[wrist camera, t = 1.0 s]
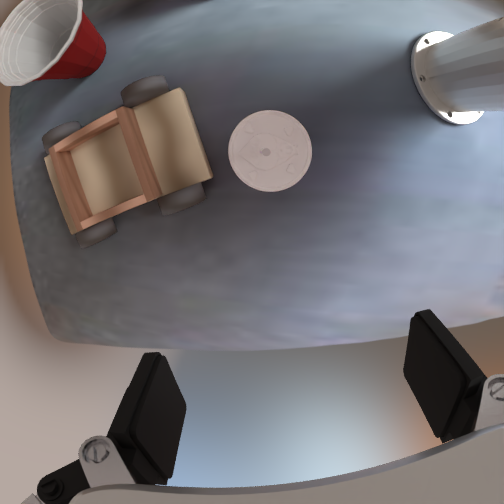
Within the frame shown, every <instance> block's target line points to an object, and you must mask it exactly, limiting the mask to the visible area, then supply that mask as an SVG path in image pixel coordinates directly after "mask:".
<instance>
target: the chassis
mask: <svg viewBox="0 0 504 504" xmlns="http://www.w3.org/2000/svg"><path fill="white" fill-rule="evenodd" d="M121 96H122V99H123V103H124V106H125V107H123V106H122V107H120V108H118V109H116V110H114V111H112V112H110V113H108V114H106V115H104V116H103V117H101V118H99V119H97V120H95V121H93V122H92V123H90V124H88V125H86V126H85V127H83V128H81V127H80V124H79V122H78V121H73V122H68V123H65V124H62V125H59V126H57V127H55V128H53V129H51V130H50V131H48V132H47V133H46V134H45V135H44V136H43V137H42V141H43V144H44V148H45V151H46V154H49V155H48V156H46V157H45V158H44V160H45V163H46V166H47V170H48V173H49V176H50V179H51V182H52V185H53V188H54V191H55V194H56V196H57V199H58V202H59V205H60V207H61V210H62V213H63V215H64V218H65V220H66V223H67V225H68V228H69V230H70V233H71V235H73V234H75V233H76V234H75V236H76V238H77V241H78V243H79V245H80V247H81V249H84V248H87V247H89V246H92V245H94V244H96V243H98V242H100V241H102V240H104V239H106V238H108V237H110V236H111V235H113V234H114V233H116V232H117V229H116V226H115V224H114V221H113V219H112V217H113V216H115V215H117V214H120V213H122V212H124V211H127V210H129V209H132V208H134V207H137V206H139V205H141V204H144V203H146V202H149V201H151V200H154V199H157V201H158V204H159V207H160V209H161V212H162V214H163V216H166V215H170V214H173V213H176V212H179V211H182V210H185V209H187V208H190V207H192V206H194V205H196V204H199V203H201V202H202V201H204V200H206V199H207V198H206V195H205V192H204V189H203V187H202V184H201V182H202V181H205V180H208V179H211V178H212V177H213V173H212V170H211V167H210V164H209V162H208V159H207V156H206V153H205V150H204V147H203V144H202V141H201V138H200V136H199V133H198V130H197V127H196V124H195V121H194V118H193V115H192V112H191V109H190V106H189V103H188V101H187V98H186V95H185V92H184V91H183V90H182V89H181V88H180V87H179V88H177V89H174V90H172V91H169V88H168V85H167V82H166V79H165V77H164V76H161V75H156V76H150V77H146V78H143V79H140V80H138V81H135V82H133V83H132V84H130V85H128V86H127V87H125V88H124V89H123V90H122V91H121Z"/></svg>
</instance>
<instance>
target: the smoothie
mask: <svg viewBox="0 0 504 504" xmlns="http://www.w3.org/2000/svg"><path fill="white" fill-rule="evenodd" d="M228 155H229V160H230V164H231V166H232V168H233V170H234V172H235V173H236V175H237V176H238V177H239V178H240V179H241V180H242V181H243V182H244V183H245V184H247V185H248V186H250V187H252V188H254V189H257V190H260V191H266V192H275V191H281V190H284V189H287V188H289V187H291V186H293V185H294V184H296V183H297V182H298V181H299V180H300V179H301V178H302V177H303V176H304V175H305V173H306V171H307V170H308V168H309V165H310V162H311V158H312V145H311V141H310V137H309V135H308V133H307V131H306V129H305V128H304V127H303V125H302V124H301V123H300V122H299V121H298V120H296V119H295V118H294V117H292V116H291V115H289V114H286V113H284V112H280V111H275V110H264V111H259V112H256V113H253V114H251V115H249V116H247V117H246V118H244V119H243V120H242V121H241V122H240V123H239V124H238V125H237V126H236V128H235V129H234V131H233V133H232V135H231V138H230V141H229V147H228Z"/></svg>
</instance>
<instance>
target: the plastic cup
mask: <svg viewBox="0 0 504 504" xmlns="http://www.w3.org/2000/svg"><path fill="white" fill-rule="evenodd" d="M82 6H83V2H82V0H23V1H22V2H21V3H20V4H19V5H18V6H17V7H16V8H15V9H14V10H13V11H12V12H11V13H10V15H9V16H8V18H7V19H6V21H5V22H4V24H3V25H2V26H1V28H0V82H1V83H3V84H4V85H5V86H22V85H25V84H27V83H29V82H31V81H35V80H42V79H69V78H83V77H86V76H89V75H91V74H92V73H93V72H95V71H96V70H97V69H98V68H99V66H100V65H101V64H102V62H103V60H104V57H105V54H106V45H105V42H104V40H103V39H102V37H101V36H100V34H99V33H98V32H97V31H96V29H95V27H94V26H93V24H92V23H91V22H90V20H89V19H88V18H87V16H86V15H85V14H84V12H83V10H82Z"/></svg>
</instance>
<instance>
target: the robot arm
mask: <svg viewBox="0 0 504 504" xmlns="http://www.w3.org/2000/svg"><path fill="white" fill-rule="evenodd" d="M411 70H412V75H413V79H414V82H415V85H416V87H417V89H418V91H419V93H420V95H421V97H422V98H423V100H424V101H425V103H426V104H427V105H428V107H429V108H430V109H431V110H432V111H433V112H434V113H435V114H436V115H438V116H439V117H440V118H442V119H443V120H445V121H447V122H450V123H453V124H463V125H464V124H470V123H472V122H474V121H476V120H477V119H478V118H479V117H480V116H481V115H482V113H483V112H484V111H504V17H502V18H499V19H496V20H493V21H490V22H487V23H484V24H482V25H479V26H476V27H474V28H471V29H469V30H466V31H464V32H461V33H459V34H456V35H452V34H449V33H446V32H441V31H434V32H430V33H427V34H425V35H423V36H422V37H420V38H419V39H418V40H417V41H416V43H415V45H414V47H413V49H412V54H411ZM403 372H404V376H405V378H406V380H407V382H408V384H409V386H410V388H411V390H412V391H413V393H414V395H415V397H416V399H417V401H418V403H419V405H420V407H421V409H422V411H423V413H424V415H425V417H426V419H427V421H428V423H429V425H430V427H431V428H432V431H433V433H434V435H435V436H436V437H437V438H439V437H440V439H441V441H442V443H444V444H442V445H440V446H437V447H434V448H431V449H429V450H426V451H423V452H420V453H418V454H415V455H412V456H409V457H406V458H403V459H400V460H396V461H393V462H390V463H386V464H383V465H379V466H376V467H372V468H368V469H364V470H360V471H356V472H352V473H347V474H343V475H338V476H333V477H328V478H322V479H317V480H310V481H303V482H296V483H288V484H279V485H269V486H257V487H256V486H255V487H235V488H198V487H197V488H196V487H172V486H159V485H167V480H168V478H171V477H172V475H173V470H174V465H175V461H176V456H177V451H178V446H179V441H180V437H181V432H182V427H183V423H184V418H185V414H186V403H185V400H184V398H183V396H182V394H181V392H180V389H179V387H178V385H177V383H176V380H175V378H174V376H173V373H172V371H171V369H170V366H169V364H168V361H167V359H166V357H165V356H162V355H161V354H160V353H159V352H152V353H144V355H143V356H142V359H141V361H140V363H139V365H138V367H137V370H136V372H135V374H134V376H133V379H132V381H131V383H130V385H129V387H128V388H127V390H126V392H125V394H124V396H123V399H122V401H121V403H120V405H119V408H118V410H117V413H116V415H115V417H114V419H113V422H112V424H111V427H110V429H109V431H108V434H107V436H106V437H105V436H94V437H91V438H89V439H87V440H86V441H85V442H84V443H83V444H82V445H81V447H80V449H79V453H78V454H79V459H78V460H76V461H74V462H72V463H70V464H68V465H67V466H65V467H62V468H61V469H58V470H56V471H55V472H52V473H50V474H48V475H46V476H45V477H44V478H42V479H41V480H40V482H39V484H38V486H37V495H36V496H35V495H34V494H31V495H30V496H29V497H28V498H27V499H26V500H24V501H23V502H22V503H21V504H504V375H503V374H496V375H492V376H491V377H489V378H487V377H486V376H485V375H484V373H483V372H482V371H481V369H480V368H479V367H478V366H477V364H476V363H475V362H474V361H473V359H472V358H471V357H470V356H469V354H468V353H467V352H466V351H465V349H464V348H463V347H462V346H461V345H460V344H459V342H458V341H457V340H456V339H455V338H454V337H453V335H452V334H451V333H450V332H449V331H448V329H447V328H446V327H445V326H444V325H443V323H442V322H441V321H440V320H439V319H438V318H437V317H436V316H435V314H434V313H433V312H432V311H431V310H430V309H427V310H423V311H419V312H416V313H415V315H414V317H412V318H411V321H410V329H409V337H408V344H407V350H406V356H405V363H404V368H403ZM452 439H454V440H452ZM449 440H452V441H449ZM447 441H449V442H447ZM445 442H447V443H445ZM155 484H159V485H155Z"/></svg>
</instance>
